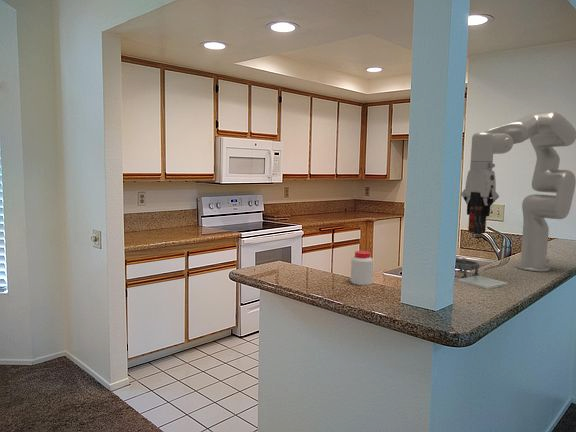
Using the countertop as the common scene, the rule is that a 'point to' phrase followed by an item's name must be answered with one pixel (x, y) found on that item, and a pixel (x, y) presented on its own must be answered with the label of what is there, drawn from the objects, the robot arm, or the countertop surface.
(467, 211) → the robot arm
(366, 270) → the pill bottle
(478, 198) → the deodorant
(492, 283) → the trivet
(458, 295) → the countertop surface
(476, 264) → the ring stand
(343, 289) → the countertop surface
